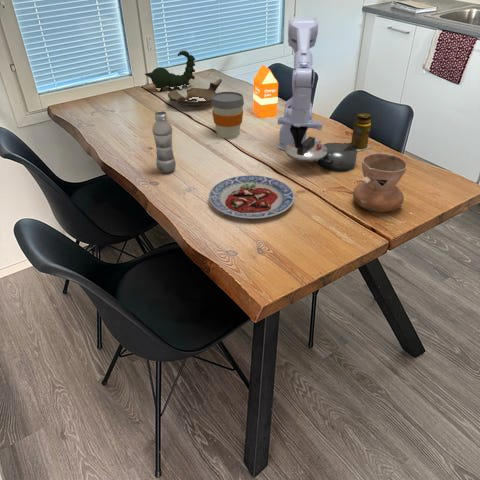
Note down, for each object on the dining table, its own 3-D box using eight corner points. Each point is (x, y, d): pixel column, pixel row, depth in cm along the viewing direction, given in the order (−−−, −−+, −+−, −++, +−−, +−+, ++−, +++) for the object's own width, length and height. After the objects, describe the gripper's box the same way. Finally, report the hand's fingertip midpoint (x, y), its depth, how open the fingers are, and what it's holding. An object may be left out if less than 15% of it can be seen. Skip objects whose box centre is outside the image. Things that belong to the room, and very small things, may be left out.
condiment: (372, 147, 171) (377, 116, 164) (355, 152, 167) (360, 120, 160) (358, 140, 176) (362, 110, 169) (341, 145, 172) (346, 114, 165)
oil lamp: (160, 101, 214) (158, 85, 210) (217, 92, 226) (217, 76, 221) (178, 116, 198) (176, 99, 194) (239, 105, 210) (238, 88, 205)
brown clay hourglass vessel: (377, 224, 128) (387, 179, 119) (338, 203, 137) (344, 160, 129) (416, 204, 137) (427, 160, 128) (376, 186, 146) (384, 144, 138)
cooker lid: (298, 138, 164) (299, 128, 161) (335, 146, 158) (336, 136, 156) (278, 155, 152) (279, 144, 150) (317, 164, 146) (318, 153, 144)
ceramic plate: (290, 228, 127) (291, 219, 125) (200, 219, 130) (199, 210, 129) (297, 184, 147) (297, 176, 146) (219, 178, 151) (219, 170, 149)
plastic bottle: (161, 176, 152) (154, 118, 140) (154, 168, 156) (147, 111, 145) (179, 172, 154) (174, 115, 142) (172, 164, 159) (166, 108, 147)
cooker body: (299, 165, 158) (300, 152, 155) (322, 148, 170) (324, 135, 167) (342, 178, 150) (344, 164, 147) (363, 158, 162) (366, 145, 159)
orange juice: (268, 110, 204) (270, 63, 192) (277, 116, 197) (279, 68, 186) (252, 112, 202) (253, 65, 190) (260, 118, 195) (261, 70, 183)
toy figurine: (190, 87, 238) (143, 88, 228) (191, 48, 227) (141, 48, 218) (196, 92, 230) (147, 94, 221) (197, 52, 220) (146, 53, 211)
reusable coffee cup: (208, 138, 178) (206, 100, 169) (218, 126, 188) (216, 90, 179) (239, 141, 175) (238, 103, 167) (247, 129, 185) (247, 92, 176)
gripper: (275, 108, 144) (273, 148, 152) (320, 114, 140) (316, 155, 148) (281, 101, 150) (279, 140, 157) (325, 106, 145) (321, 146, 153)
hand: (297, 147), depth 153 cm, fingers closed
